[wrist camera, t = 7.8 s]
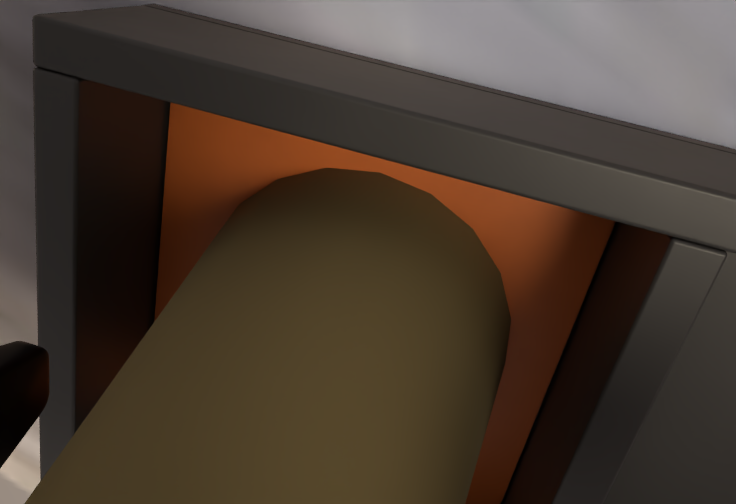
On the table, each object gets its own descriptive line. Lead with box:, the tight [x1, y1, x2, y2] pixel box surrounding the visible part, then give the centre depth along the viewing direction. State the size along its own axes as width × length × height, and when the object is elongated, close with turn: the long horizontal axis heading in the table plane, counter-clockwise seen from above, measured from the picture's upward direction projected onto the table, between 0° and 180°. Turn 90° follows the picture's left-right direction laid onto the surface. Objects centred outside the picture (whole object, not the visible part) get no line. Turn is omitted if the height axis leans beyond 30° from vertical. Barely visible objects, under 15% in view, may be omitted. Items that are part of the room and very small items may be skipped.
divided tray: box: [33, 4, 736, 504], centre depth 11 cm, size 9×18×3 cm, turn 78°
